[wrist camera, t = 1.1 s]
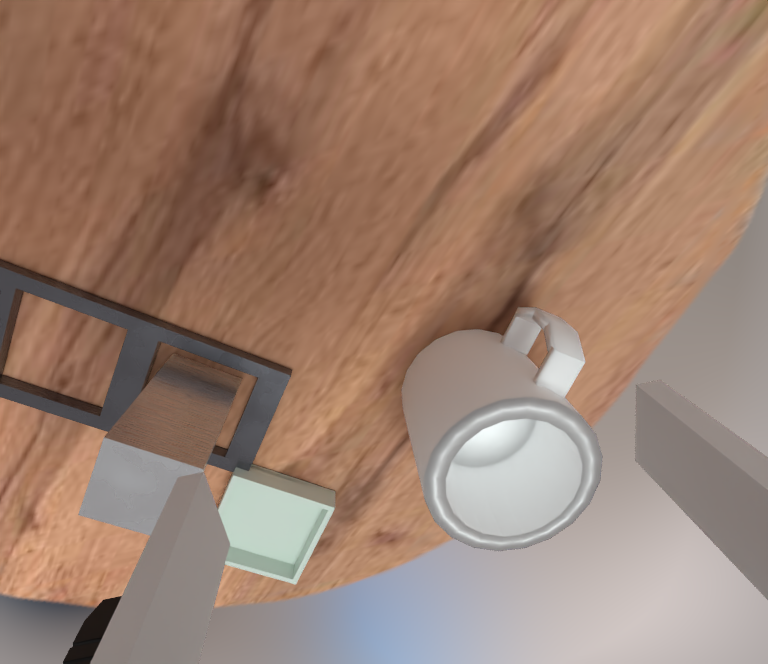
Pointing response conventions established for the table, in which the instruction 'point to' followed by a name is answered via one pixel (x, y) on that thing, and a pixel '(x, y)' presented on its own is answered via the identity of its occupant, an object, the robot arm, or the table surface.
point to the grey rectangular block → (158, 443)
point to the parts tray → (273, 521)
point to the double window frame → (136, 364)
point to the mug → (501, 433)
